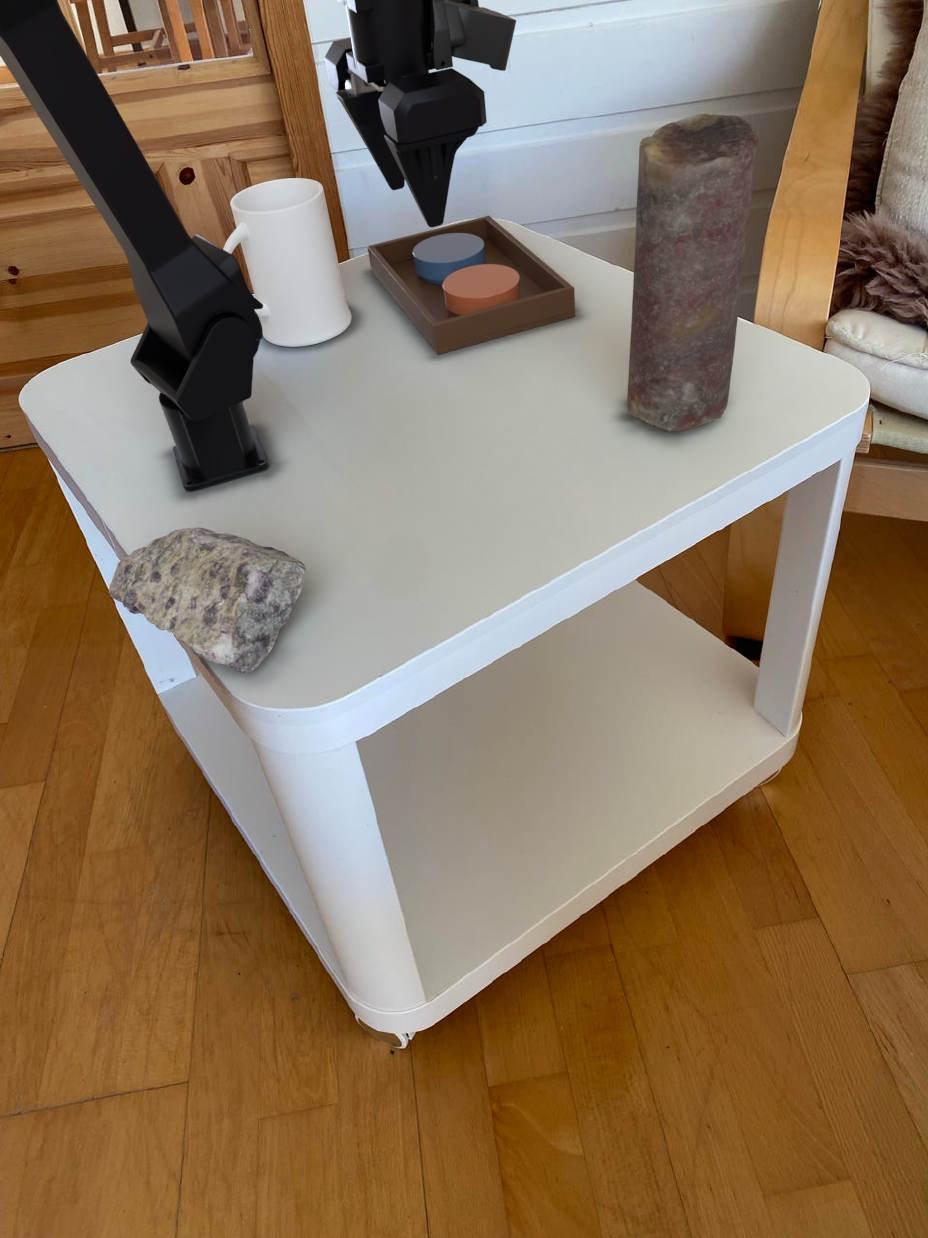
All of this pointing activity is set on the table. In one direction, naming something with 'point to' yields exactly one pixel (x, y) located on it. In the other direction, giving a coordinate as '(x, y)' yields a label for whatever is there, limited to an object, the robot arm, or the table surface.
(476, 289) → the puck terracotta
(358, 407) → the table surface
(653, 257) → the brown stone pillar
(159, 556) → the rock
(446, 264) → the blue puck
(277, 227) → the mug
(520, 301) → the tray
